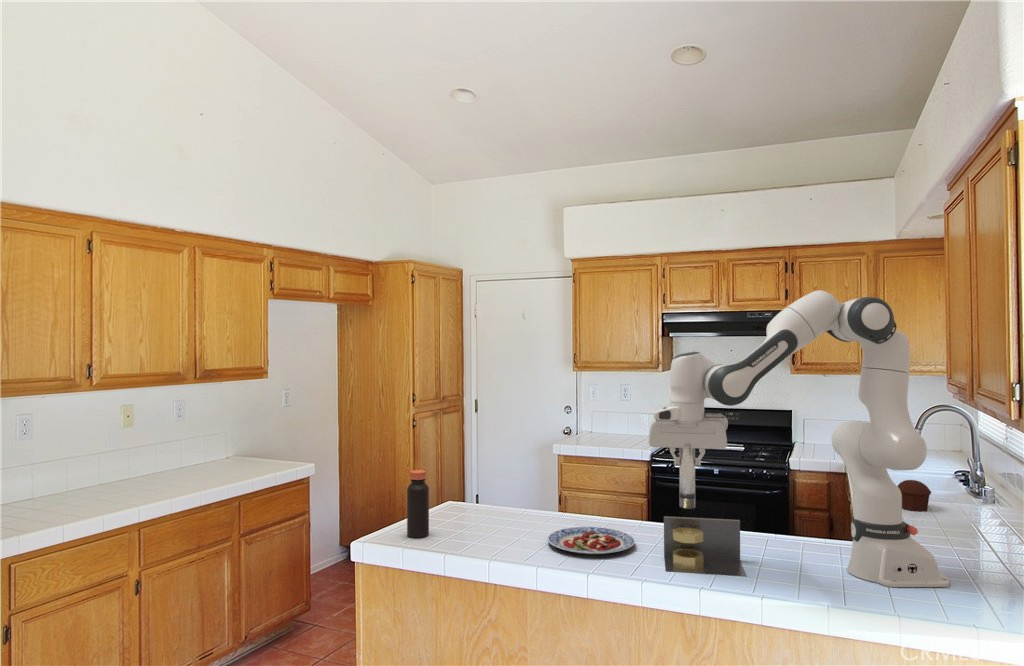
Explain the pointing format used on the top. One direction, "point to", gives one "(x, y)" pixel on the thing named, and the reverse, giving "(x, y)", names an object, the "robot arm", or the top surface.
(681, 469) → the grey metal rod
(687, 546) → the collar stand
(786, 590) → the top surface
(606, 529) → the ceramic plate
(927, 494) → the muffin
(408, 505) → the bottle
